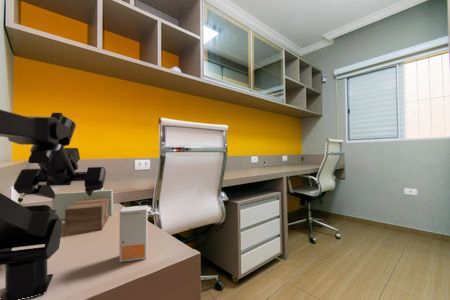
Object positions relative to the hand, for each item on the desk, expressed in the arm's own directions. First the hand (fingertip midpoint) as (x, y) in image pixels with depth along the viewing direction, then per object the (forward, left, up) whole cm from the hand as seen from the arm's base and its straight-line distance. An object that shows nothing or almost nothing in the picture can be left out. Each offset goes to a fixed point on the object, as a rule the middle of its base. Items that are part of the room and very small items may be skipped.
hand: (72, 195), depth 61 cm
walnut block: (+13, -3, -13) cm, 19 cm away
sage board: (+26, -1, -13) cm, 29 cm away
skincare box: (-19, -14, -13) cm, 27 cm away
